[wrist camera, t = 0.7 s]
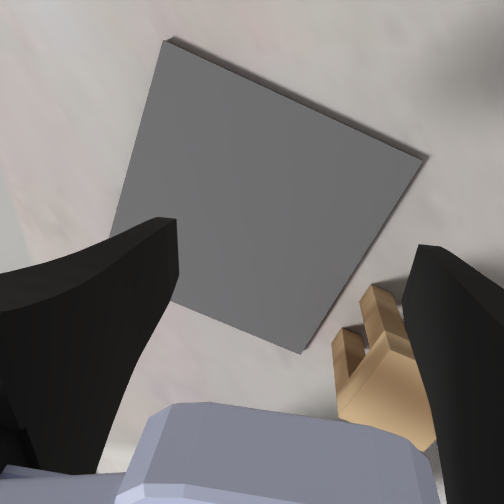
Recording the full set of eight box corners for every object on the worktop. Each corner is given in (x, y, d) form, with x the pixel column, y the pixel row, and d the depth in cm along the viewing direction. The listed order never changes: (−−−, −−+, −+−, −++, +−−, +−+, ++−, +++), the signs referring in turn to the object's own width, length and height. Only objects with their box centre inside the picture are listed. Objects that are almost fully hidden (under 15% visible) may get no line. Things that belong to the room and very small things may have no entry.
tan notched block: (399, 371, 26) (423, 451, 21) (331, 343, 26) (338, 417, 21) (444, 316, 24) (484, 389, 19) (370, 284, 24) (390, 350, 18)
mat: (300, 350, 27) (300, 354, 26) (102, 268, 26) (99, 271, 25) (420, 159, 20) (422, 161, 20) (165, 40, 19) (163, 40, 19)
